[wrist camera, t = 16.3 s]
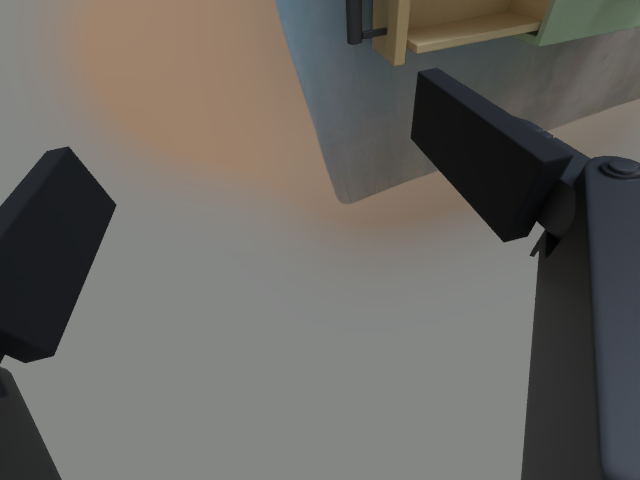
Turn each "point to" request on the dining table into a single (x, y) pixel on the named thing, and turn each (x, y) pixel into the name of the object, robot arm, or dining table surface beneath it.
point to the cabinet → (582, 20)
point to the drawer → (440, 23)
